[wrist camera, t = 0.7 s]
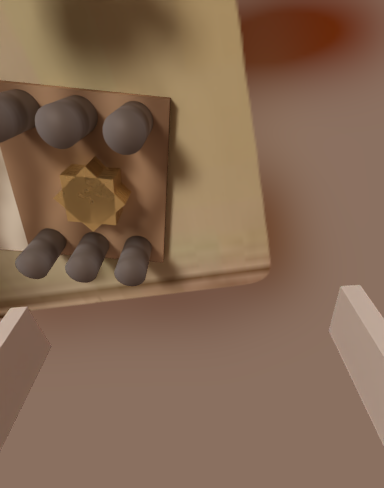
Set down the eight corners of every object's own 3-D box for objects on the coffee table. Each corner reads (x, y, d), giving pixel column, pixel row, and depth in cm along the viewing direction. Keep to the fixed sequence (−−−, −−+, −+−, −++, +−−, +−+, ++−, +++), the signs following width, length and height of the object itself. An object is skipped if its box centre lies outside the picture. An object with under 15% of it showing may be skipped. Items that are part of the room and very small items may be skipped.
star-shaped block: (70, 214, 31) (59, 228, 29) (59, 152, 27) (45, 162, 25) (132, 220, 31) (126, 234, 29) (130, 159, 28) (123, 170, 25)
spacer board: (-16, 243, 35) (-52, 275, 30) (-83, 72, 25) (-154, 77, 20) (163, 257, 36) (158, 290, 31) (170, 97, 25) (164, 109, 20)
